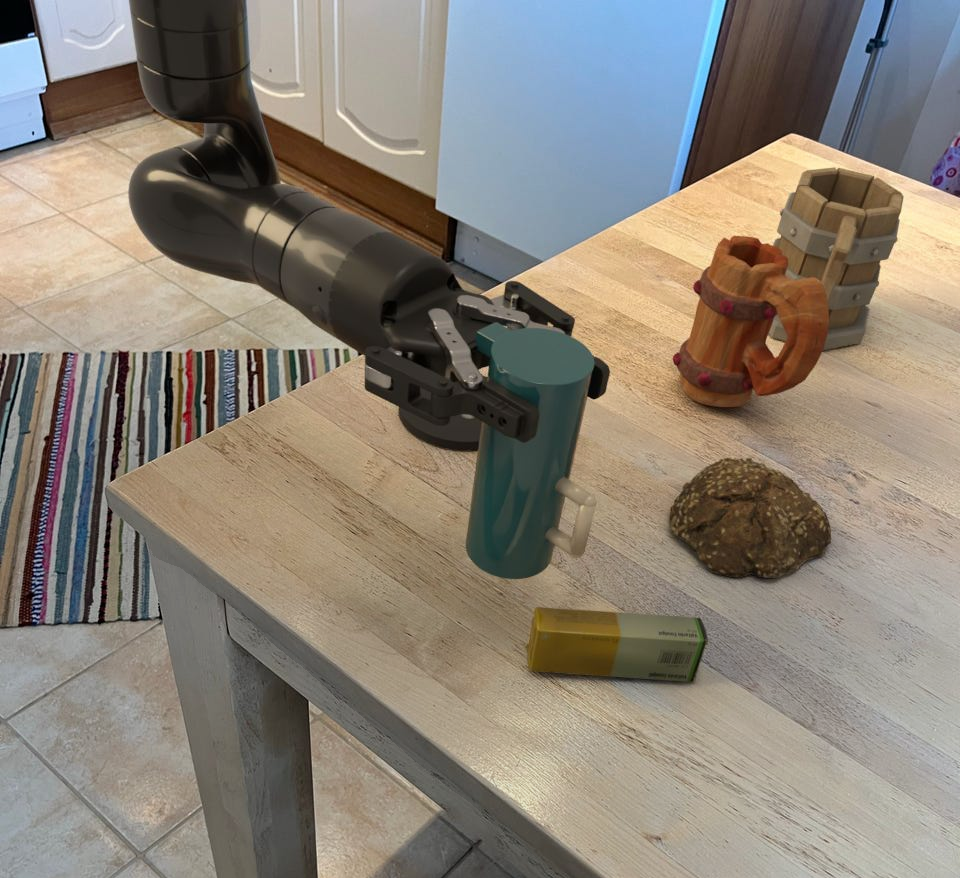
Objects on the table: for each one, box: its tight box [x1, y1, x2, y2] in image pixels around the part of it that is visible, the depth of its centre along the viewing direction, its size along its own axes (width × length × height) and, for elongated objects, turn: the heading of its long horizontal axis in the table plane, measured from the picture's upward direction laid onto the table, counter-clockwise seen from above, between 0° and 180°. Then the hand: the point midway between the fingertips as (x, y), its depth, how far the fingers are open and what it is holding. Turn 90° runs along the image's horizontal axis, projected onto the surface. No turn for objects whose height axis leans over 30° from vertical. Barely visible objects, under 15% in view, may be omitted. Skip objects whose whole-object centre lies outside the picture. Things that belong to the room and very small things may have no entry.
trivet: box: [397, 374, 487, 452], centre depth 88 cm, size 11×11×1 cm
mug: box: [672, 235, 829, 408], centre depth 88 cm, size 15×8×15 cm, turn 27°
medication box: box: [525, 606, 709, 683], centre depth 68 cm, size 12×3×4 cm, turn 91°
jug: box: [465, 322, 598, 580], centre depth 61 cm, size 10×6×15 cm, turn 47°
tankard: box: [768, 167, 904, 351], centre depth 99 cm, size 20×13×15 cm, turn 160°
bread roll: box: [668, 457, 832, 579], centre depth 79 cm, size 13×12×5 cm
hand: (569, 404), depth 57 cm, fingers closed on jug, 6 cm apart
